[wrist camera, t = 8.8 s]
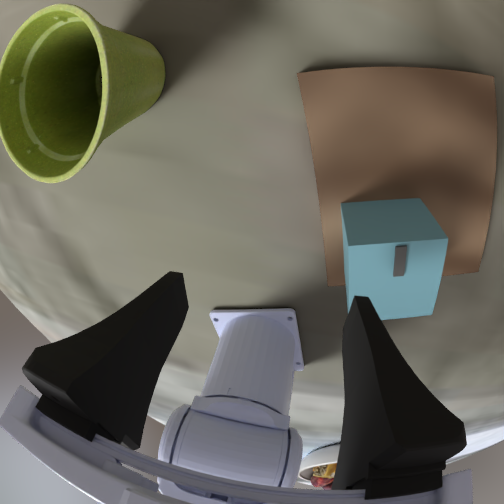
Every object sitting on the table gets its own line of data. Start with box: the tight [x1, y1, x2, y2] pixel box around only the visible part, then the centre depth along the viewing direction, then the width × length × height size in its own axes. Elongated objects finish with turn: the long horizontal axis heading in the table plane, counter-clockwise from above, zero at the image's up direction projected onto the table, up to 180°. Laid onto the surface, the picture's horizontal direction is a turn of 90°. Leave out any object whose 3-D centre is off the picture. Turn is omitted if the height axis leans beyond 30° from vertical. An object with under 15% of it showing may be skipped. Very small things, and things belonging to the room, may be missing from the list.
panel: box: [297, 67, 497, 286], centre depth 16 cm, size 15×13×1 cm
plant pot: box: [0, 4, 165, 183], centre depth 12 cm, size 9×9×9 cm
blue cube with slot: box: [341, 198, 448, 320], centre depth 16 cm, size 5×5×5 cm
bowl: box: [298, 444, 340, 490], centre depth 44 cm, size 30×30×8 cm
